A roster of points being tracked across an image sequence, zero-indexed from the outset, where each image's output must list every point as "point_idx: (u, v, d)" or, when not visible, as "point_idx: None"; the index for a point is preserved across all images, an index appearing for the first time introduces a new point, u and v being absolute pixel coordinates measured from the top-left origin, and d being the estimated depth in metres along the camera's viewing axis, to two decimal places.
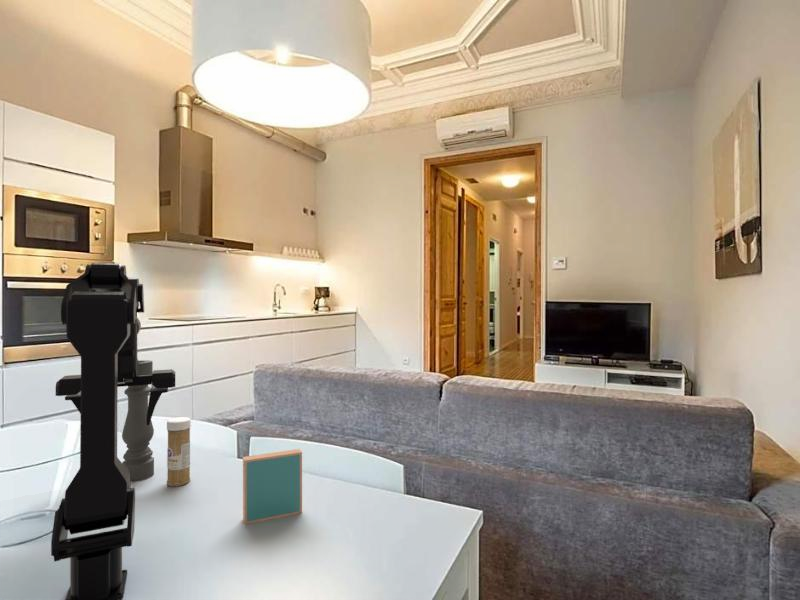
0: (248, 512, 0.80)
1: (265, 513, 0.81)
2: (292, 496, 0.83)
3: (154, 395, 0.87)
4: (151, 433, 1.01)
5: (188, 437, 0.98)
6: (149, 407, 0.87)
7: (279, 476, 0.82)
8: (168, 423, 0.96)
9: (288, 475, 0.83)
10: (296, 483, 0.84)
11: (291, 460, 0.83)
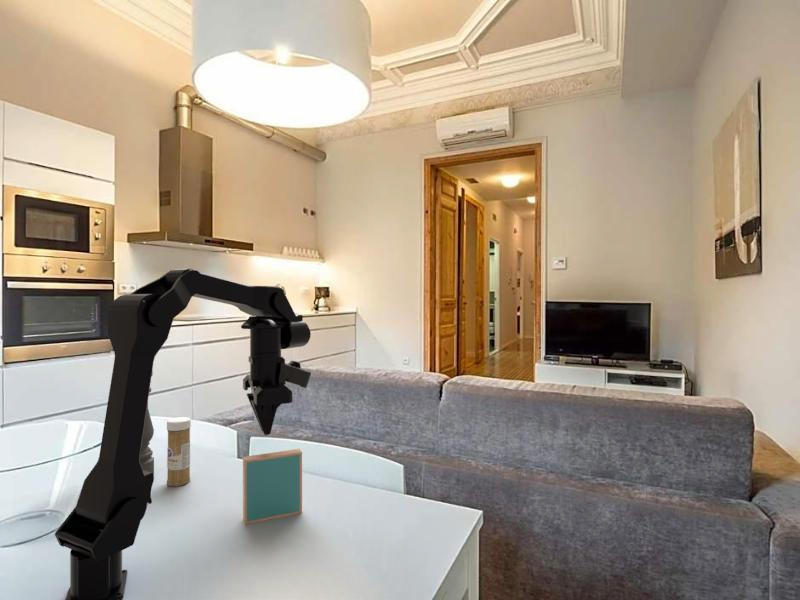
0: (248, 512, 0.80)
1: (265, 513, 0.81)
2: (292, 496, 0.83)
3: (253, 405, 0.85)
4: (151, 433, 1.01)
5: (188, 437, 0.98)
6: None
7: (279, 476, 0.82)
8: (168, 423, 0.96)
9: (288, 475, 0.83)
10: (296, 483, 0.84)
11: (291, 460, 0.83)
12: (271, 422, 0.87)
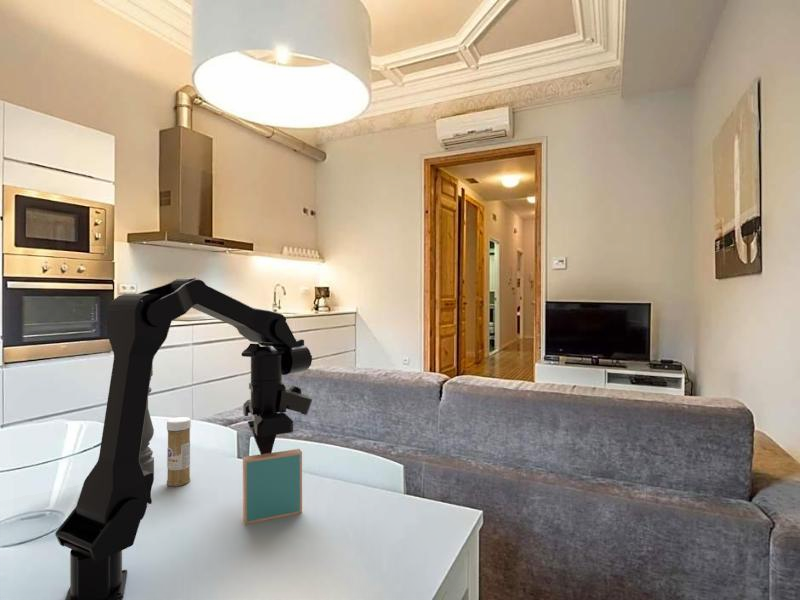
0: (248, 512, 0.80)
1: (265, 513, 0.81)
2: (292, 496, 0.83)
3: (252, 432, 0.86)
4: (151, 433, 1.01)
5: (188, 437, 0.98)
6: (256, 443, 0.87)
7: (279, 476, 0.82)
8: (168, 423, 0.96)
9: (288, 475, 0.83)
10: (296, 483, 0.84)
11: (291, 460, 0.83)
12: (270, 448, 0.88)
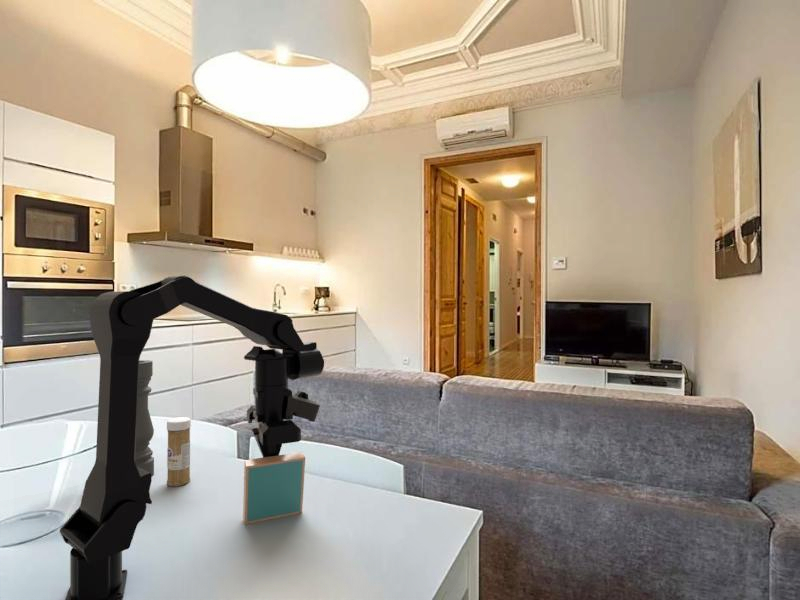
0: (248, 513, 0.79)
1: (265, 514, 0.81)
2: (293, 498, 0.83)
3: (257, 440, 0.81)
4: (151, 433, 1.01)
5: (188, 437, 0.98)
6: None
7: (281, 480, 0.81)
8: (168, 423, 0.96)
9: (290, 479, 0.81)
10: (298, 486, 0.82)
11: (294, 465, 0.81)
12: None
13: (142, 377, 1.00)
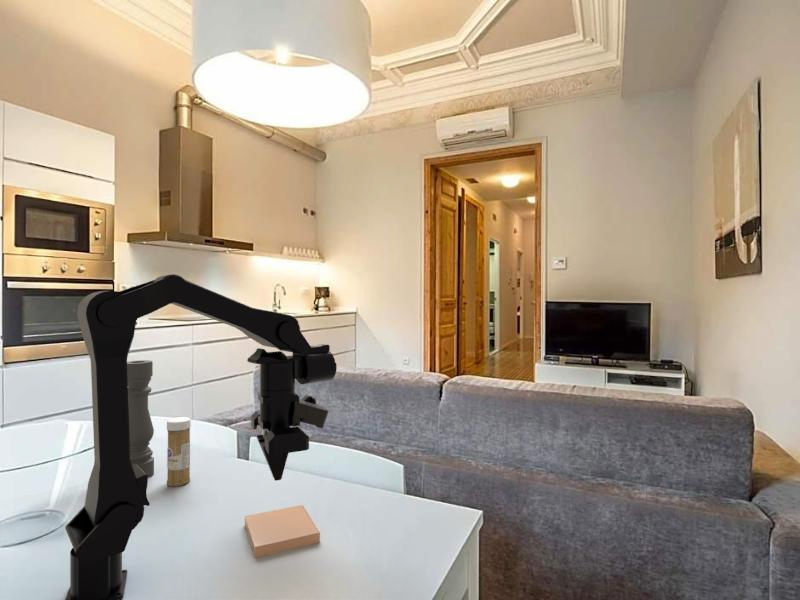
0: None
1: None
2: None
3: (262, 448, 0.76)
4: (151, 433, 1.01)
5: (188, 437, 0.98)
6: (267, 460, 0.77)
7: None
8: (168, 423, 0.96)
9: None
10: None
11: None
12: (282, 466, 0.78)
13: (142, 377, 1.00)
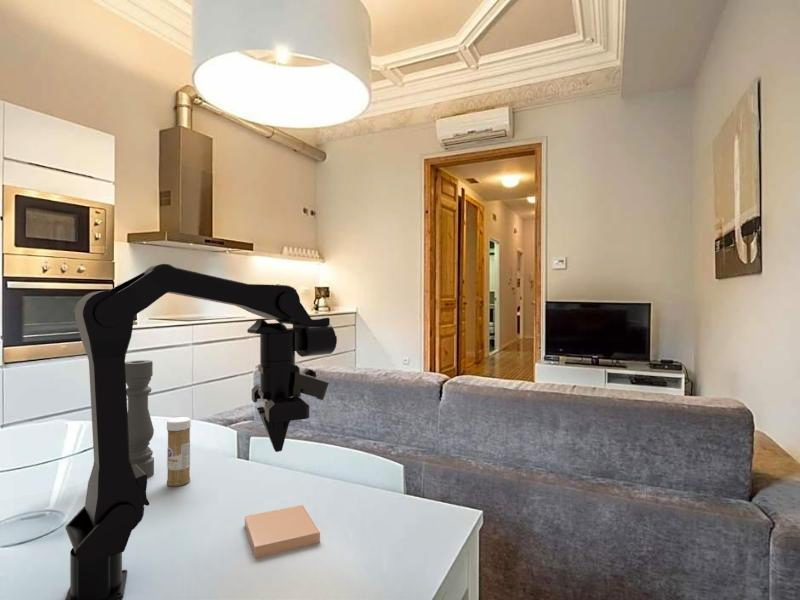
0: None
1: None
2: None
3: (262, 419, 0.76)
4: (151, 433, 1.01)
5: (188, 437, 0.98)
6: (267, 431, 0.77)
7: None
8: (168, 423, 0.96)
9: None
10: None
11: None
12: (283, 437, 0.78)
13: (142, 377, 1.00)
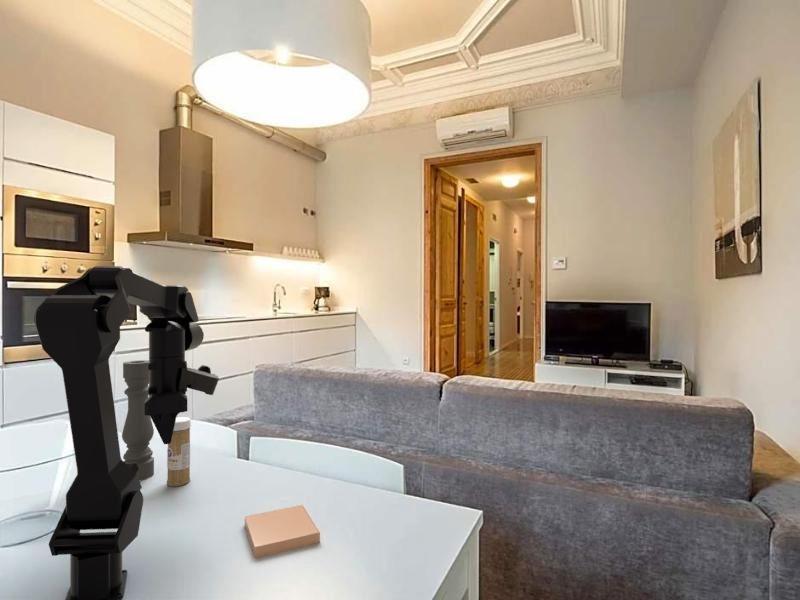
0: None
1: None
2: None
3: None
4: (151, 433, 1.01)
5: (188, 437, 0.98)
6: None
7: None
8: None
9: None
10: None
11: None
12: (171, 430, 0.82)
13: (142, 377, 1.00)
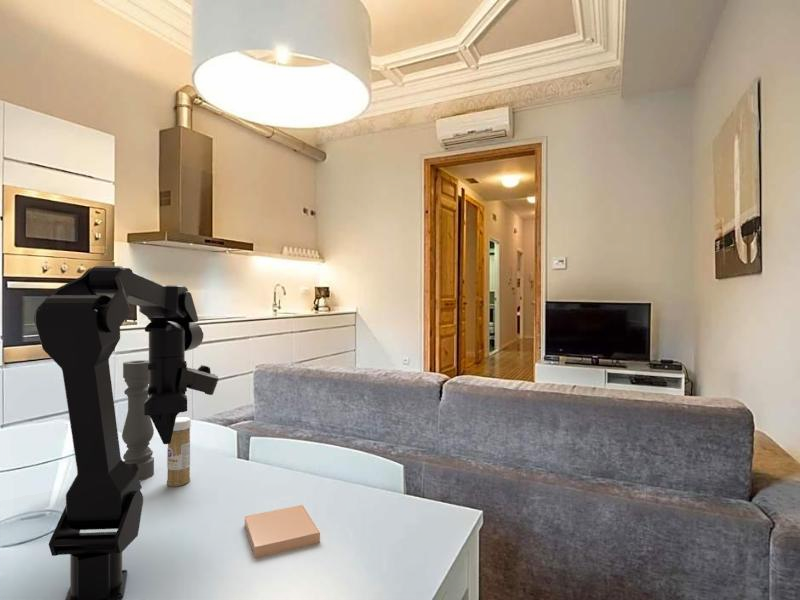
0: None
1: None
2: None
3: None
4: (151, 433, 1.01)
5: (188, 437, 0.98)
6: None
7: None
8: None
9: None
10: None
11: None
12: (171, 430, 0.82)
13: (142, 377, 1.00)
